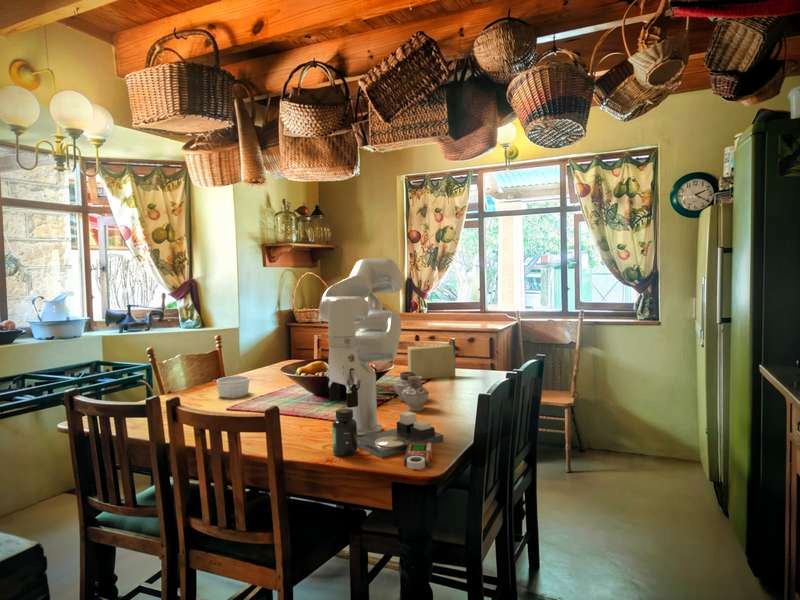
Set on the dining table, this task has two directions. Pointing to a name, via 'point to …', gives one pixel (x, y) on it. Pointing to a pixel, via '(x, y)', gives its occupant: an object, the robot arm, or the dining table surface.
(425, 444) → the electronic device
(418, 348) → the cheese
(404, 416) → the block
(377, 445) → the breaker board
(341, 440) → the supplement bottle
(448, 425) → the dining table surface
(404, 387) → the pottery
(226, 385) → the ramekin
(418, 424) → the white cube
